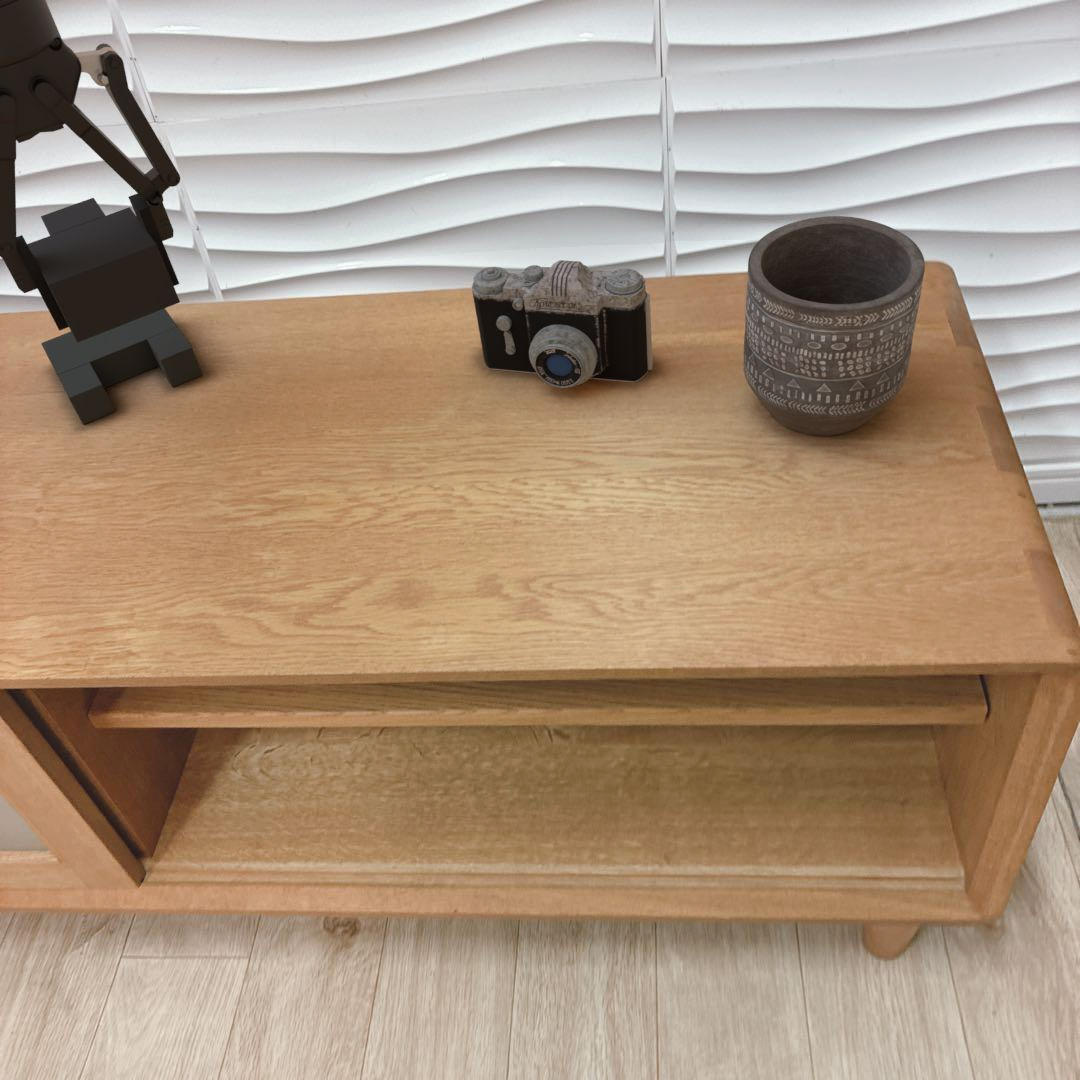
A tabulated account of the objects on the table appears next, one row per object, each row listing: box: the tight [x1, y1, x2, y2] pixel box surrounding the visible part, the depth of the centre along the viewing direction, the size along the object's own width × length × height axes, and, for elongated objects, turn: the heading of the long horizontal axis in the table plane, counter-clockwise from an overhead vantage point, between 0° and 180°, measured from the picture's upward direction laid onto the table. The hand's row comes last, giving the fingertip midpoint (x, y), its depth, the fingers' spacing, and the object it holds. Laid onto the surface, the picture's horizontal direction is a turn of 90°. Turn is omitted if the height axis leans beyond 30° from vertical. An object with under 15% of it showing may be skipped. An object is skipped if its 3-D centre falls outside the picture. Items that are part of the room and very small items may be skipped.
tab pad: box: [27, 197, 181, 342], centre depth 82 cm, size 8×11×5 cm
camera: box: [471, 259, 653, 389], centre depth 87 cm, size 15×7×10 cm, turn 74°
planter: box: [743, 215, 926, 437], centre depth 80 cm, size 12×12×13 cm
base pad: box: [41, 308, 204, 425], centre depth 96 cm, size 11×10×3 cm
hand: (115, 298), depth 82 cm, fingers closed on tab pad, 8 cm apart
